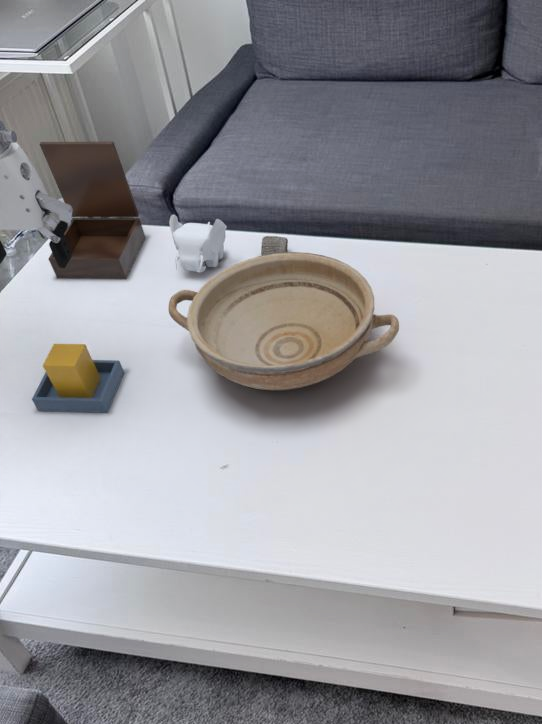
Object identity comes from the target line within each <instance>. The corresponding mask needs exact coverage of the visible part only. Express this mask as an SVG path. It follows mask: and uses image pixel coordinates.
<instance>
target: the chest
mask: <svg viewBox="0 0 542 724" xmlns="http://www.w3.org/2000/svg"><path fill="white" fill-rule="evenodd" d="M64 235H65V237H66V239H67V242H68V244H69V247H70V249H71V251H72V257H71V259H70V261H69V262H68V264H67V266H66V267H65V268H60V267H59V266H58V264H57V262H56V260H55V257H54V255H53V253H52V252H51V253H50V255H49V257H48V261H49V264H50V266H51V268H52V270H53V272H54V274H55V276H56V279H99V280H101V279H102V280H103V279H105V280H106V279H107V280H108V279H109V280H111V279H113V280H114V279H115V280H119V279H120V280H127V278H128V276H129V274H130V272H131V270H132V267H133V266H134V264H135V260H136V259H137V257H138V255H139V253H140V251H141V248H142V246H143V244H144V242H145V240H146V234H145V231H144V228H143V226H142V223H141V219H140V217H71V224H70V225H69V227H68V229H67V230H66V232H65V233H64Z"/></svg>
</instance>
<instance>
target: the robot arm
mask: <svg viewBox="0 0 542 724" xmlns="http://www.w3.org/2000/svg"><path fill="white" fill-rule="evenodd" d="M17 141H18V136H17V133H16V132H15V130H9V129H7V128H6V126H5V124H4V121H3V120H2V119H1V118H0V231H38V232H39V233H40V234H42V235H43V236H44V237H46V238H47V239H48V240H50V241H49V243H48V245H49V248H50V251H51V253H53V255H54V257H55V260H56V262H57V264H58V266H59V267H60V268H65V267H66V266H67V264H68V262H69V261H70V259H71V257H72V251H71V249H70V247H69V244H68V242H67V239H66V237H65V235H64V233H65V232H66V230H67V229H68V227H69V225H70V224H71V220H72V218H73V217H72V210H73V209H72V207H71V206H70V205H69V204H66V203H65V202H64V201H62V200H60V199H57V198H55V197H53V196H50V195H49V194H48V191H47V190H46V187H45V185H44V184H43V182H42V180H41V178H40V175H39V174H38V172H37V171H36V168H35V167H34V165H33V163H32V162H31V160H30V159H29V157H28V155H27V154H26V153H25V151H24V150H23V148H22V147H21V146H20V145H19V143H18V142H17ZM53 213H54V214H56V215H57V216H58V219H57V218H56V217H55V216H53V215H52V214H53ZM48 225H49V226H48ZM7 253H8V252H7V251H6V249H5V247H4V245H3V242H2V240H0V265H1V264H2V262H4V259H5V258H6V256H7V255H8V254H7Z"/></svg>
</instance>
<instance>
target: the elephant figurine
mask: <svg viewBox="0 0 542 724" xmlns="http://www.w3.org/2000/svg"><path fill="white" fill-rule="evenodd" d="M168 223H169V228H170V231H171V237H172V241H173V244H174V246H175V249H176V250H177V254H176V255H175V257H174V258H175V271H177V270H178V263H179V264H180V267H181V268H182V269H183V270H184V271H190V272H197V273H198V274H199V273H204V272H205V270H206V268H217V267H218V265H219V260H222V259H223V258H224V253H225V245H224V244H225V241H226V236H227V235H226V230H227V228H228V225H226V224H225V223H224V221H223V220H221V219H219V218H216V219H215V220H214V223H213V225H212V224H211V221H208V222H207V223H199V222H187V223H184V224H182V222H180V221H179V218H178V216H177V215H176V214H171V215H170V218H169V222H168ZM204 262H205V264H206V265H205V264H204Z"/></svg>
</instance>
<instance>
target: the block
mask: <svg viewBox="0 0 542 724" xmlns="http://www.w3.org/2000/svg"><path fill="white" fill-rule="evenodd" d="M93 360H94V359H93V358H92V356H91V353H90V352H89V350H88V347H87V345H86V344H85V343H53V345H52V347H51V348H50V350H49V353H48V354H47V356H46V358H45V360H44V362H43V364H42V368H43V369H44V371H45V372H46V373H47V375H48V377H49V378H50V380H51V382H52V384H53V386H54V388H55V390H56V391H57V393H58V395H59V397H61V398H92V397H93V395H94V393H95V391H96V388H97V386H98V384H99V382H100V379H101V377H100V375H99V373H98V371H97V369H96V367H95V364H94V362H93Z"/></svg>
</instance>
